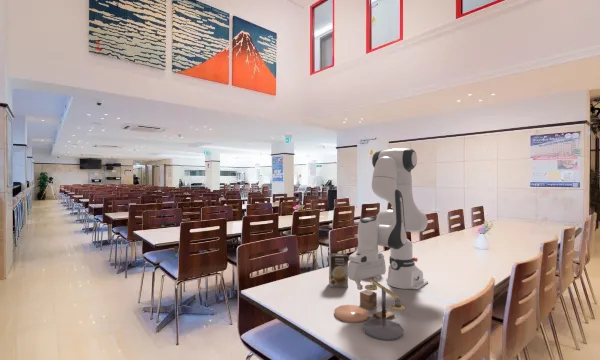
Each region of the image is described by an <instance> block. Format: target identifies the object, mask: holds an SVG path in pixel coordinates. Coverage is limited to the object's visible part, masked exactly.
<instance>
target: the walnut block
mask: <svg viewBox="0 0 600 360" xmlns="http://www.w3.org/2000/svg"><path fill="white" fill-rule="evenodd" d="M377 296H378V294H377V292H374V290H367V289H366V290H363V291H362V290H361V291H360V292H359V306H361V307H363V308H365V309H367V310H372V309H375V308H377V305H378V303H377V302H378V301H377V299H378V298H377Z"/></svg>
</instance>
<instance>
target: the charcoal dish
mask: <svg viewBox="0 0 600 360" xmlns="http://www.w3.org/2000/svg"><path fill="white" fill-rule="evenodd" d="M362 327H363V328H362V329H363V332H364V334H366V335H367V336H369V337H370V338H372V339H376V340H379V341H388V342H389V341H396V340H399V339H401V338H402V337H403V336H404V329H403V327H402V325H400V323H398V322H397V321H393V320H391V319H389V320H387V319H376V318H369V319H368V320H366V321H364V322H363V326H362Z"/></svg>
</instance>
